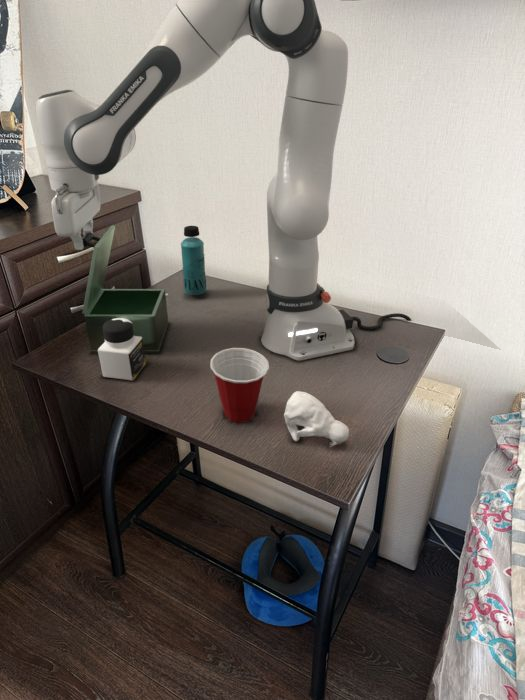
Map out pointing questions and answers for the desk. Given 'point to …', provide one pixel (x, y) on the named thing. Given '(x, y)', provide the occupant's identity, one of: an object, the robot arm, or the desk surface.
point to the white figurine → (312, 419)
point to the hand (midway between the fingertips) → (84, 243)
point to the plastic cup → (239, 381)
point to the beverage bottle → (193, 262)
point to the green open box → (130, 315)
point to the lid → (97, 265)
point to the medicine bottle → (121, 350)
